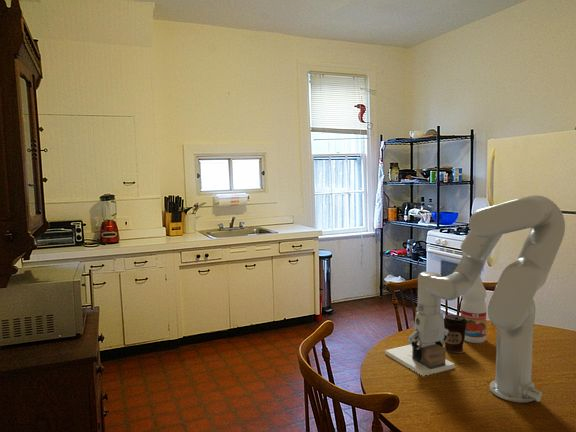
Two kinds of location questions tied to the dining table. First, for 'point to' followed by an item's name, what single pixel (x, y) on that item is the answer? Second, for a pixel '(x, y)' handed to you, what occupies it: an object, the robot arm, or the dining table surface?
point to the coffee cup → (455, 333)
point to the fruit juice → (475, 312)
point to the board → (405, 358)
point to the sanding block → (431, 355)
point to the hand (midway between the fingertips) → (428, 356)
